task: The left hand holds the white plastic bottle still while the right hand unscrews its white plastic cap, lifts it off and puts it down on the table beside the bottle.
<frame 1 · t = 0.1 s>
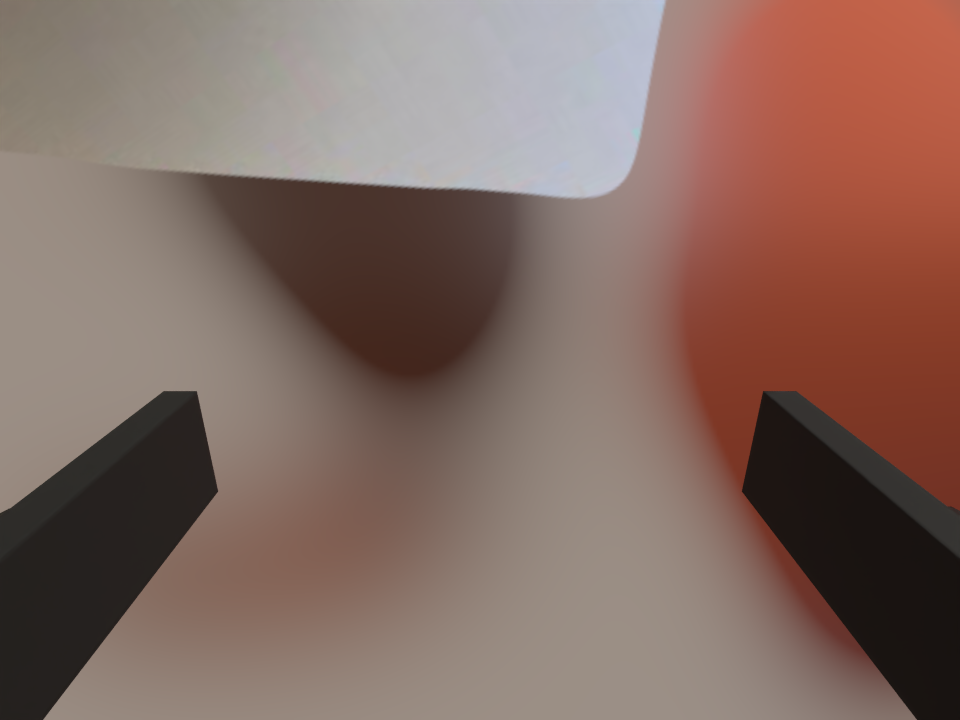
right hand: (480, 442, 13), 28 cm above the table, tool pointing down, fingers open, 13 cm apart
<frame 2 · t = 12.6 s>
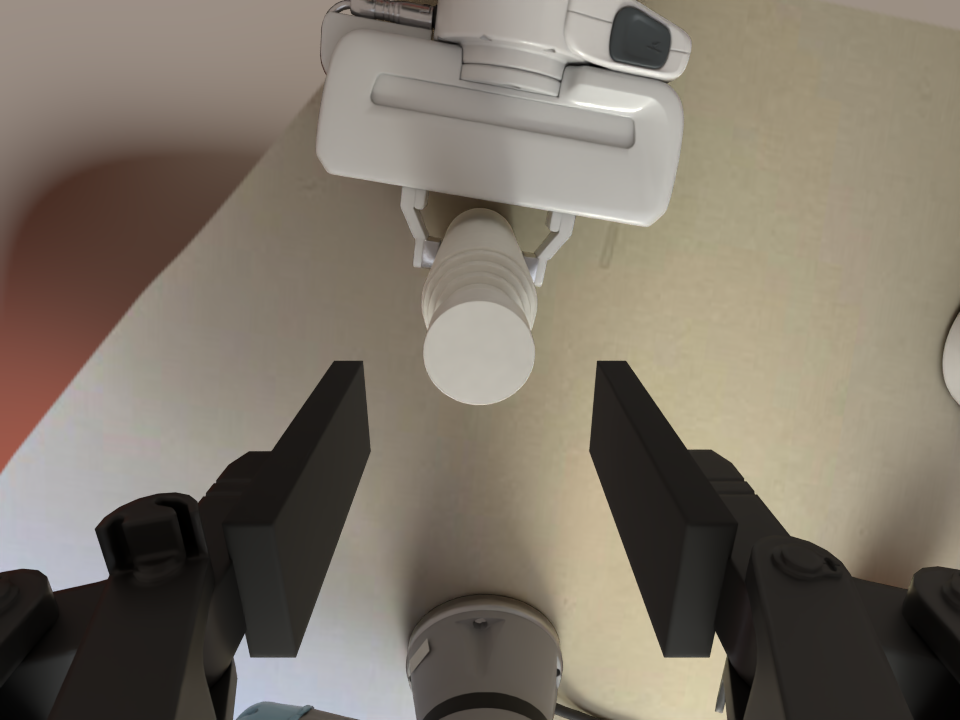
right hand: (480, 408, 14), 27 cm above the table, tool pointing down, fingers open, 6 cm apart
left hand: (478, 275, 34), fingers closed on bottle, 5 cm apart
cap: (479, 351, 18), point 22 cm above the table, screwed on, not yet turned
bottle: (479, 244, 39), on the table, touching left hand
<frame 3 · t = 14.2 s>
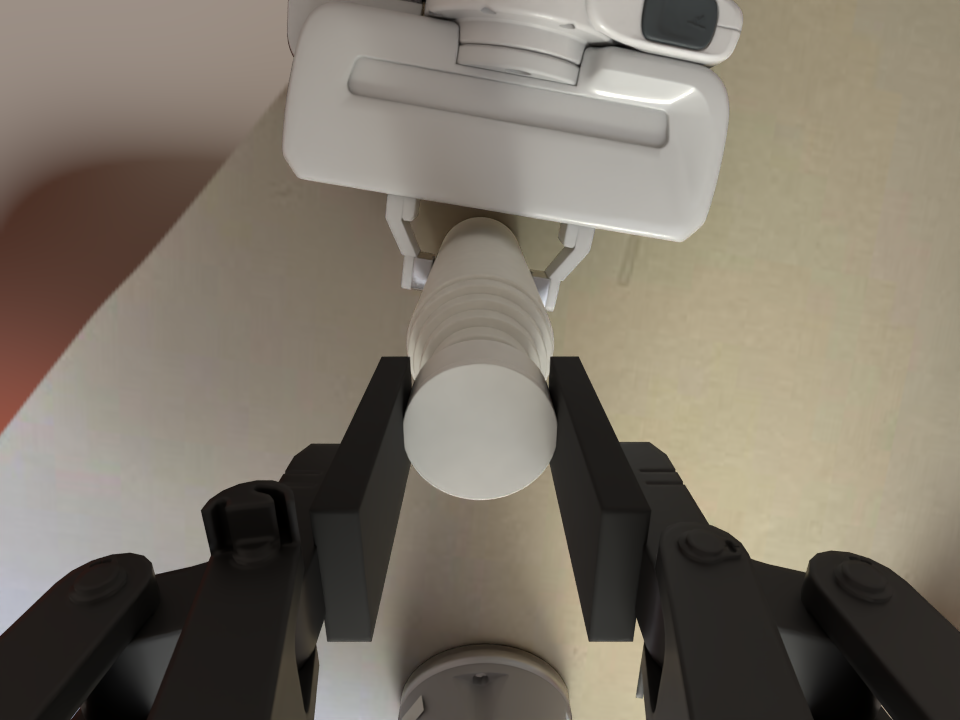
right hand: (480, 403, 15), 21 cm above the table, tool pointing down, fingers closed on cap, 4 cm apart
left hand: (478, 297, 28), fingers closed on bottle, 5 cm apart
cap: (480, 429, 13), point 22 cm above the table, screwed on, not yet turned, touching right hand
bottle: (480, 258, 34), on the table, touching left hand
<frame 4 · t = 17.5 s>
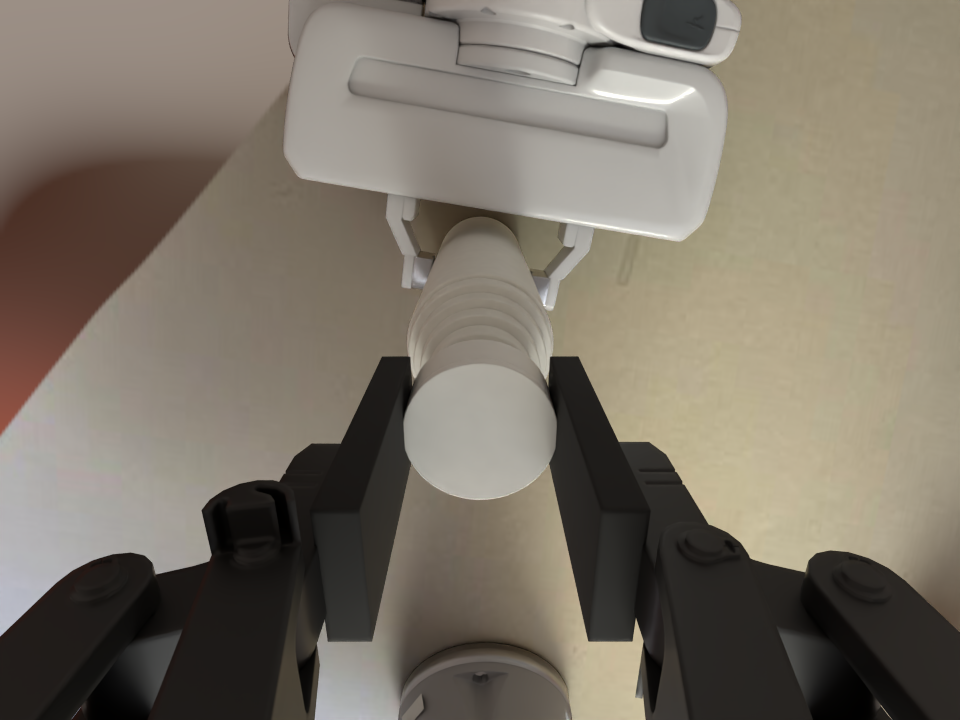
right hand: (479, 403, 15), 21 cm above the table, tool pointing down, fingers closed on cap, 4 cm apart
left hand: (478, 297, 29), fingers closed on bottle, 5 cm apart
cap: (480, 429, 13), point 22 cm above the table, turned 121° so far, risen 0.1 cm, still on its thread, touching right hand
bottle: (480, 258, 34), on the table, touching left hand
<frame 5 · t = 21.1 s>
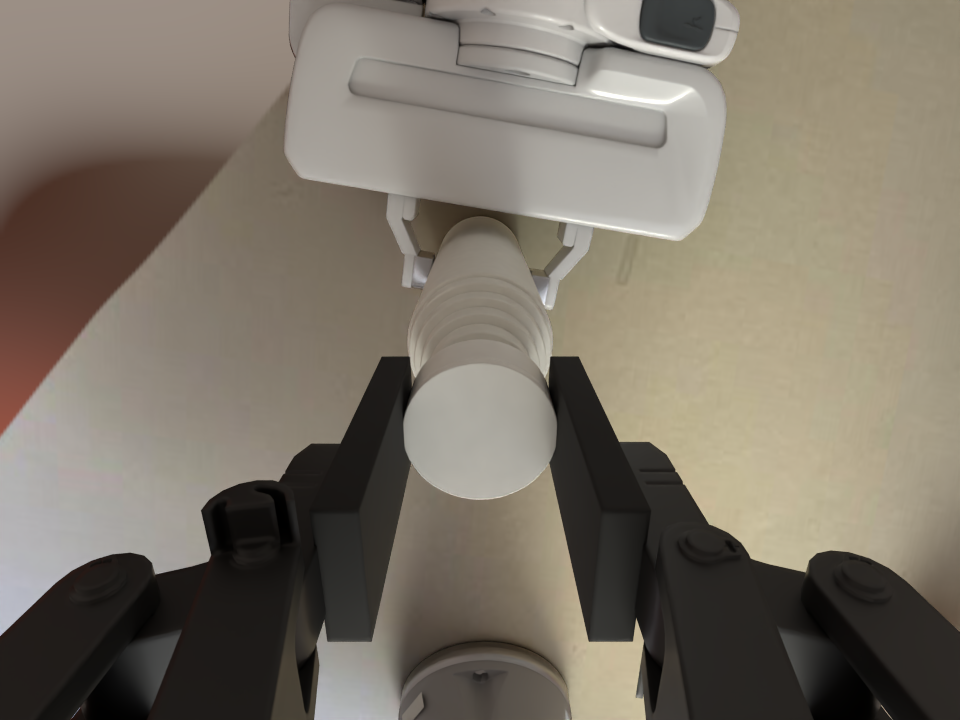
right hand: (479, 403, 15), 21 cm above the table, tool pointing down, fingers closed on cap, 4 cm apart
left hand: (478, 296, 29), fingers closed on bottle, 5 cm apart
cap: (480, 429, 13), point 23 cm above the table, turned 242° so far, risen 0.2 cm, still on its thread, touching right hand
bottle: (480, 257, 34), on the table, touching left hand
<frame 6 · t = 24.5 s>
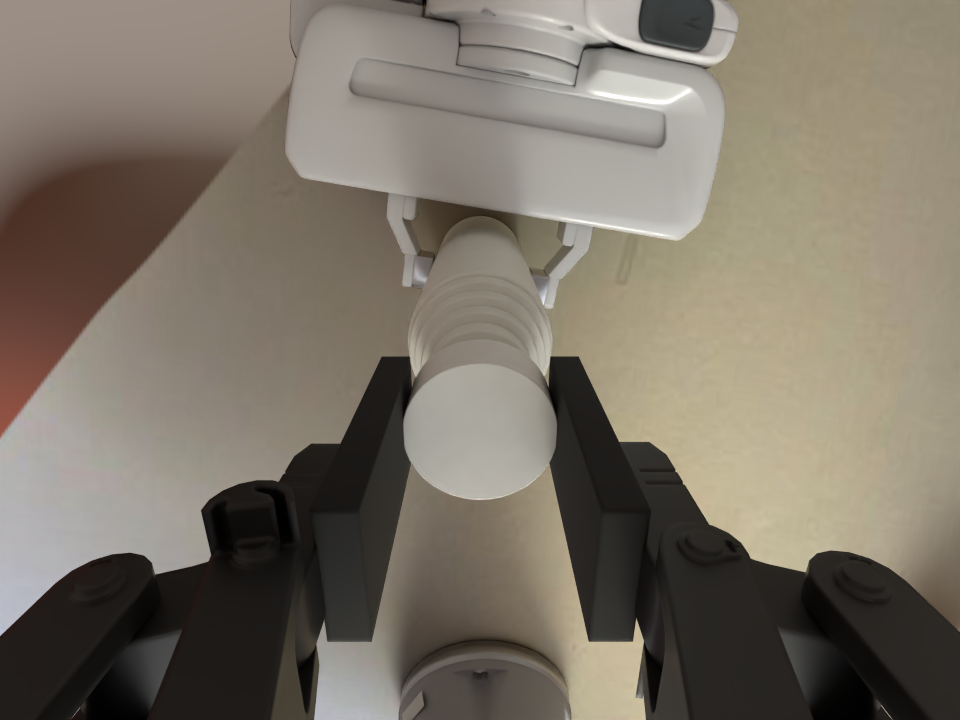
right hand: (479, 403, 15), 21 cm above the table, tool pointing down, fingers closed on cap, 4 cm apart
left hand: (478, 295, 29), fingers closed on bottle, 5 cm apart
cap: (480, 429, 13), point 23 cm above the table, turned 363° so far, risen 0.4 cm, still on its thread, touching right hand
bottle: (480, 257, 34), on the table, touching left hand
when the right hand's fingers open (1 cm above the table, at t = 30.5 s): cap drops 1 cm, point 1 cm above the table.
when the left hand's fingers open (6 cm above the table, at t = 31.9 s): bottle stays where it is, on the table.
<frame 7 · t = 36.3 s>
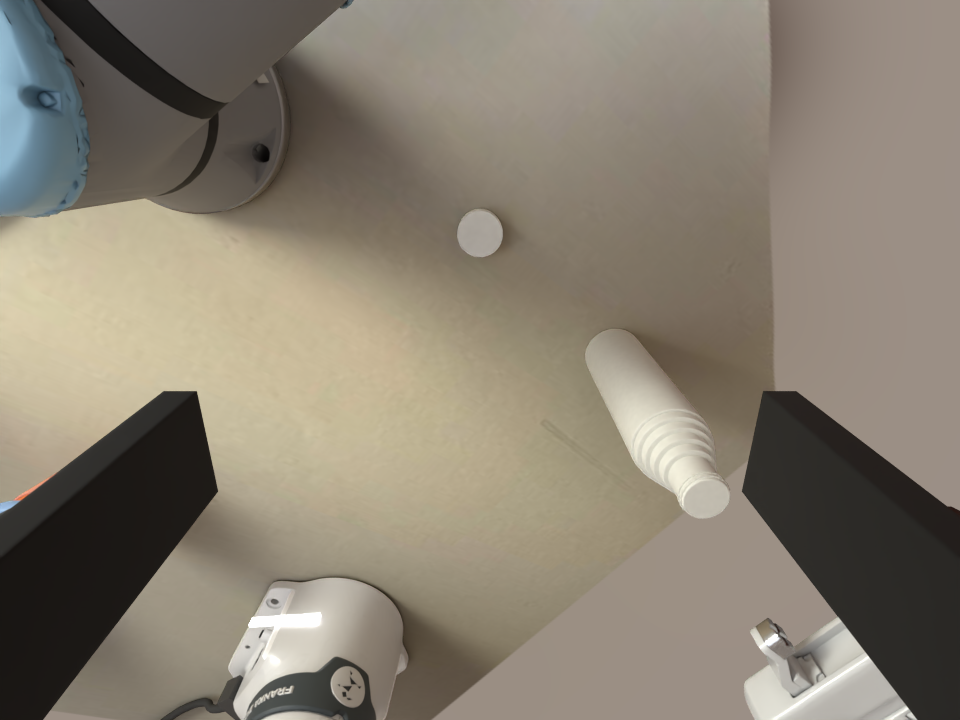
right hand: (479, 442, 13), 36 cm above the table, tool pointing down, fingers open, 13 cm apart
cap: (480, 233, 44), point 1 cm above the table, off its thread
bottle: (612, 354, 50), on the table
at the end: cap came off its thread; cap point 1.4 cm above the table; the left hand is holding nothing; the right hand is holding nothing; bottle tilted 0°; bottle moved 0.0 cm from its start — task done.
